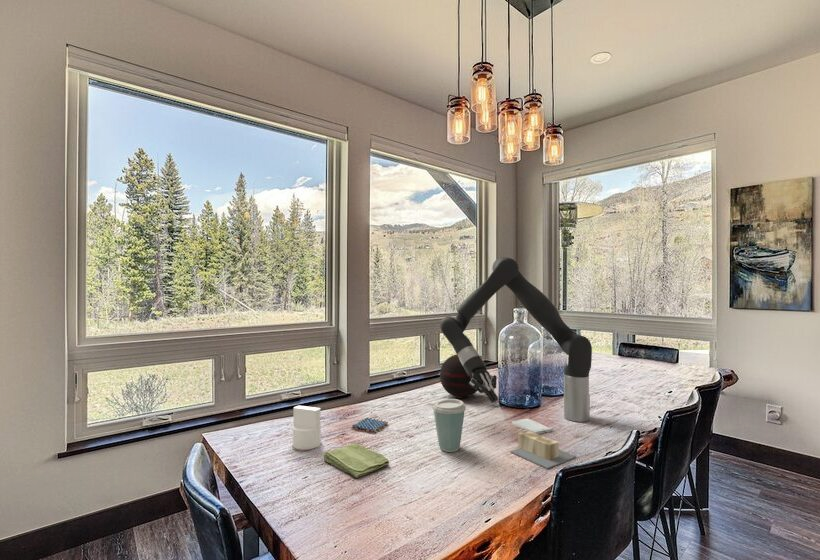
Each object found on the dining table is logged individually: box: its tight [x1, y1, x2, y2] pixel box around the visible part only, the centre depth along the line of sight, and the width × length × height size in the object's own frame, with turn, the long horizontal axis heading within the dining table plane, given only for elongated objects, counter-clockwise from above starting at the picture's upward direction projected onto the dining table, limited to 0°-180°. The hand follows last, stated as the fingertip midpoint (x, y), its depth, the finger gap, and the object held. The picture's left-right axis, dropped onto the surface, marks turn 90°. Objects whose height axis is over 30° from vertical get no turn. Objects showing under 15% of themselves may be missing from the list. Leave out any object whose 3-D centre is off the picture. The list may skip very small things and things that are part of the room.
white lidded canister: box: [292, 405, 322, 451], centre depth 137 cm, size 9×9×12 cm
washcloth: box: [323, 443, 390, 479], centre depth 124 cm, size 13×18×3 cm
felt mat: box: [510, 447, 577, 470], centre depth 130 cm, size 14×14×1 cm
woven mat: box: [351, 417, 389, 435], centre depth 153 cm, size 10×11×2 cm
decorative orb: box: [439, 353, 480, 399], centre depth 194 cm, size 20×20×20 cm
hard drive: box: [511, 417, 553, 435], centre depth 154 cm, size 2×8×12 cm
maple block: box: [517, 430, 560, 460], centre depth 131 cm, size 4×4×12 cm
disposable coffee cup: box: [432, 398, 466, 453], centre depth 135 cm, size 11×11×15 cm
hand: (495, 401), depth 146 cm, fingers closed
